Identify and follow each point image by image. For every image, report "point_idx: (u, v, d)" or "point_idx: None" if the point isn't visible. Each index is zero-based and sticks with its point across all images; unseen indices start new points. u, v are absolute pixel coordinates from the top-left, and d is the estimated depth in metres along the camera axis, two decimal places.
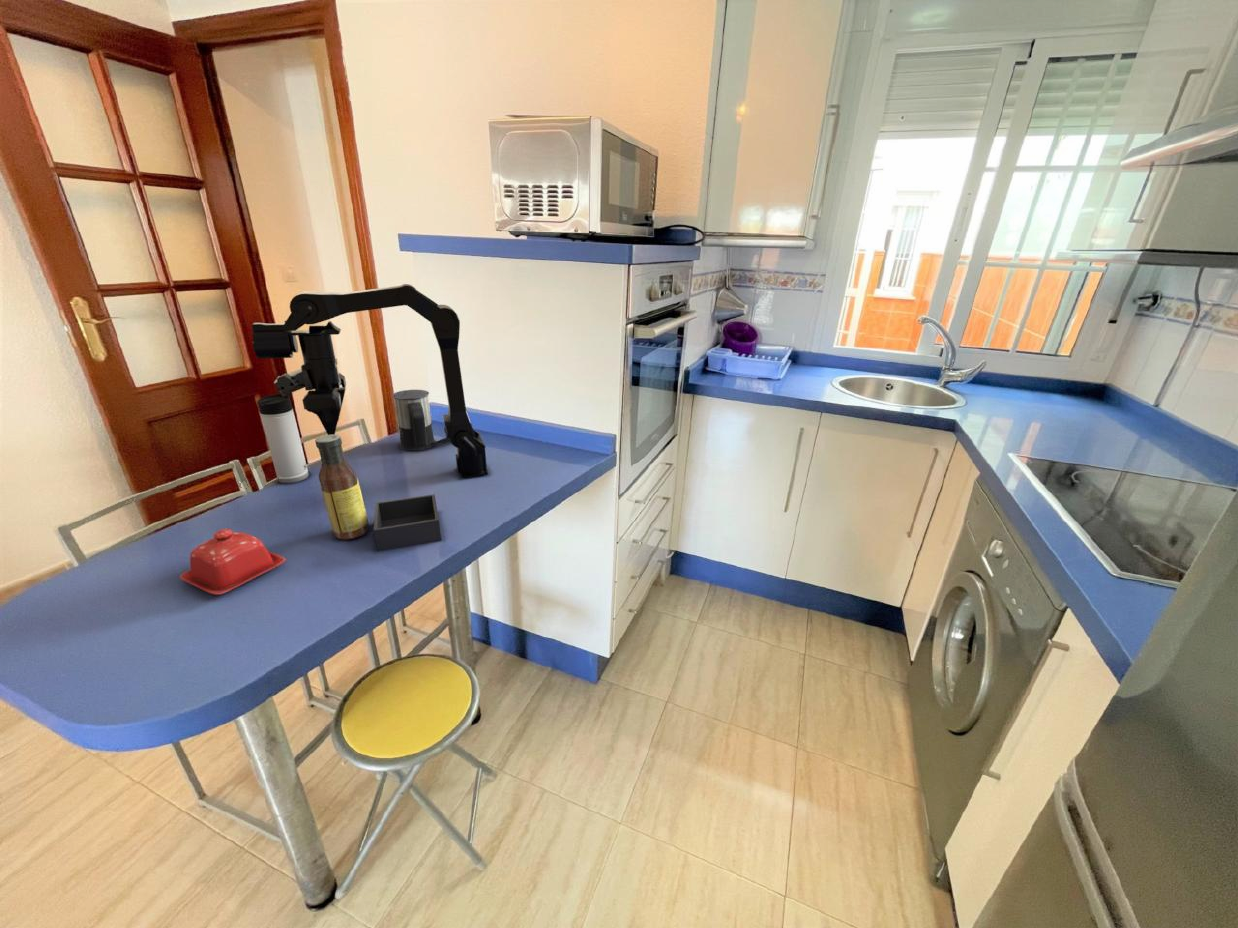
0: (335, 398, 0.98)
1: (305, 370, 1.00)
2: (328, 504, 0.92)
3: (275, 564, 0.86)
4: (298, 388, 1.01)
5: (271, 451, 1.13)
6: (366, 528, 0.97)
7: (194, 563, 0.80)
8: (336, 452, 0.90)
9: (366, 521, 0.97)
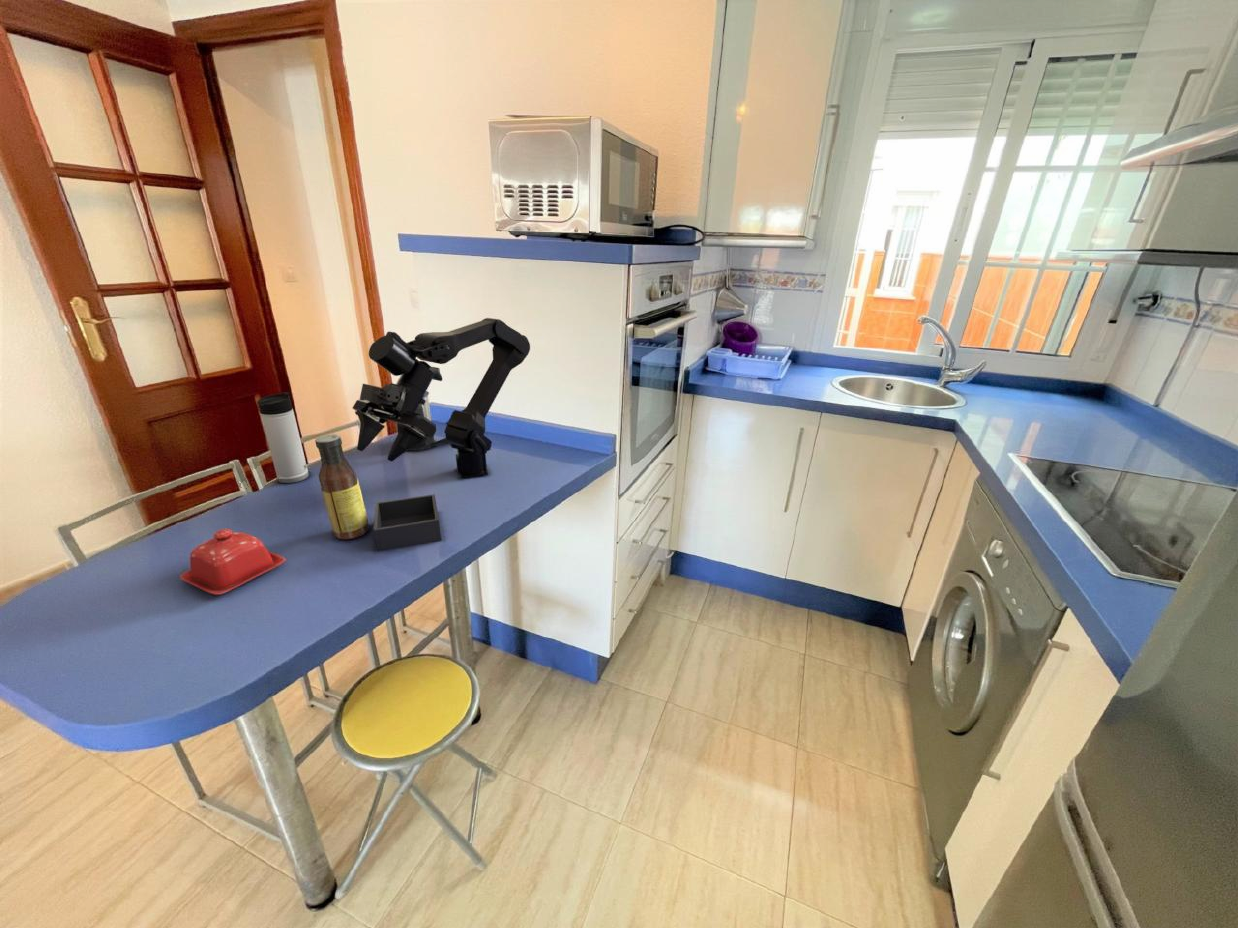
0: None
1: (405, 392, 0.99)
2: (328, 504, 0.92)
3: (275, 564, 0.86)
4: (389, 403, 0.97)
5: (271, 451, 1.13)
6: (366, 528, 0.97)
7: (194, 563, 0.80)
8: (336, 452, 0.90)
9: (366, 521, 0.97)
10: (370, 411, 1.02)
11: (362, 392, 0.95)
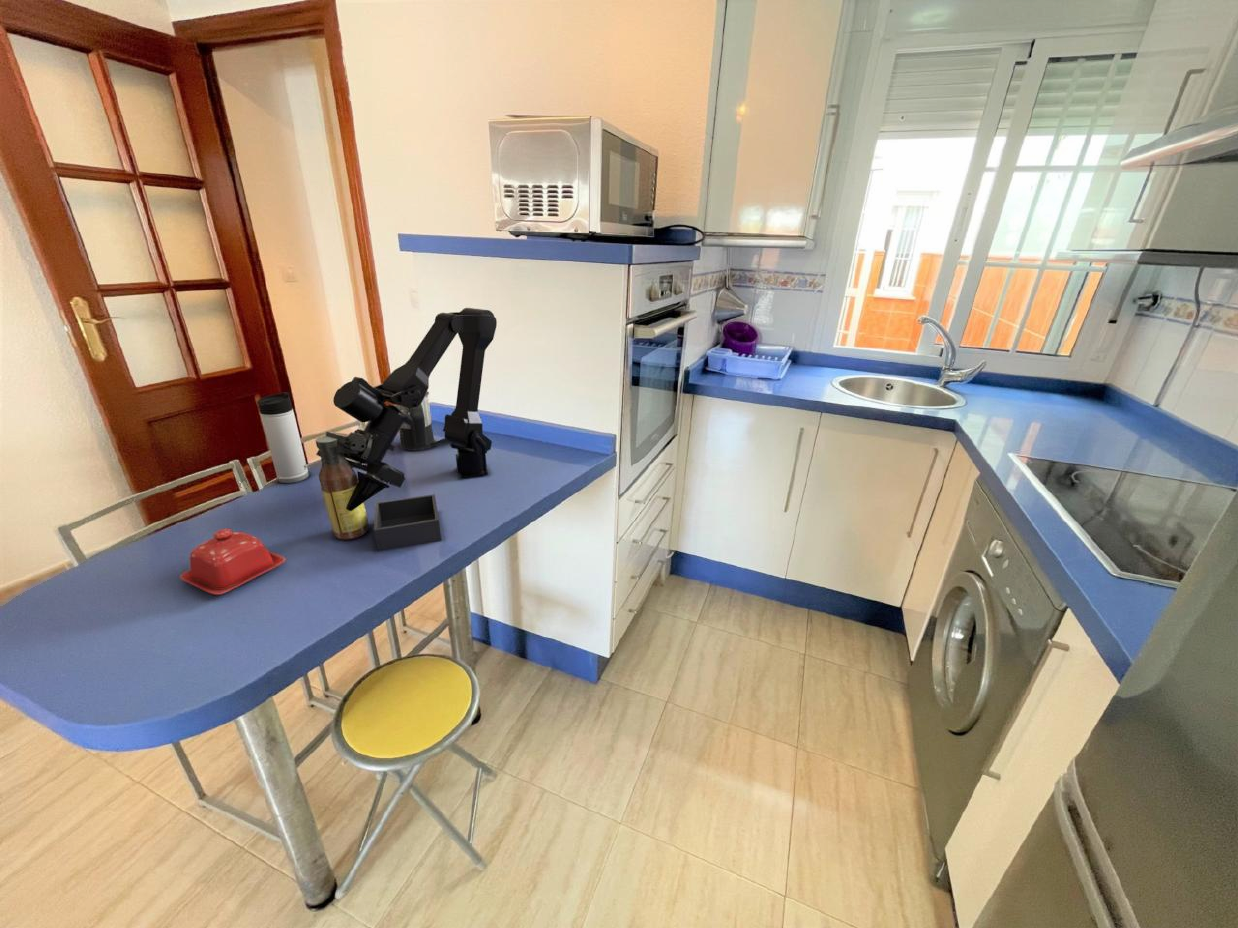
0: (404, 478, 0.95)
1: (372, 439, 0.95)
2: (328, 504, 0.92)
3: (275, 564, 0.86)
4: (354, 452, 0.92)
5: (271, 451, 1.13)
6: (366, 528, 0.97)
7: (194, 563, 0.80)
8: (336, 452, 0.90)
9: (366, 521, 0.97)
10: None
11: None
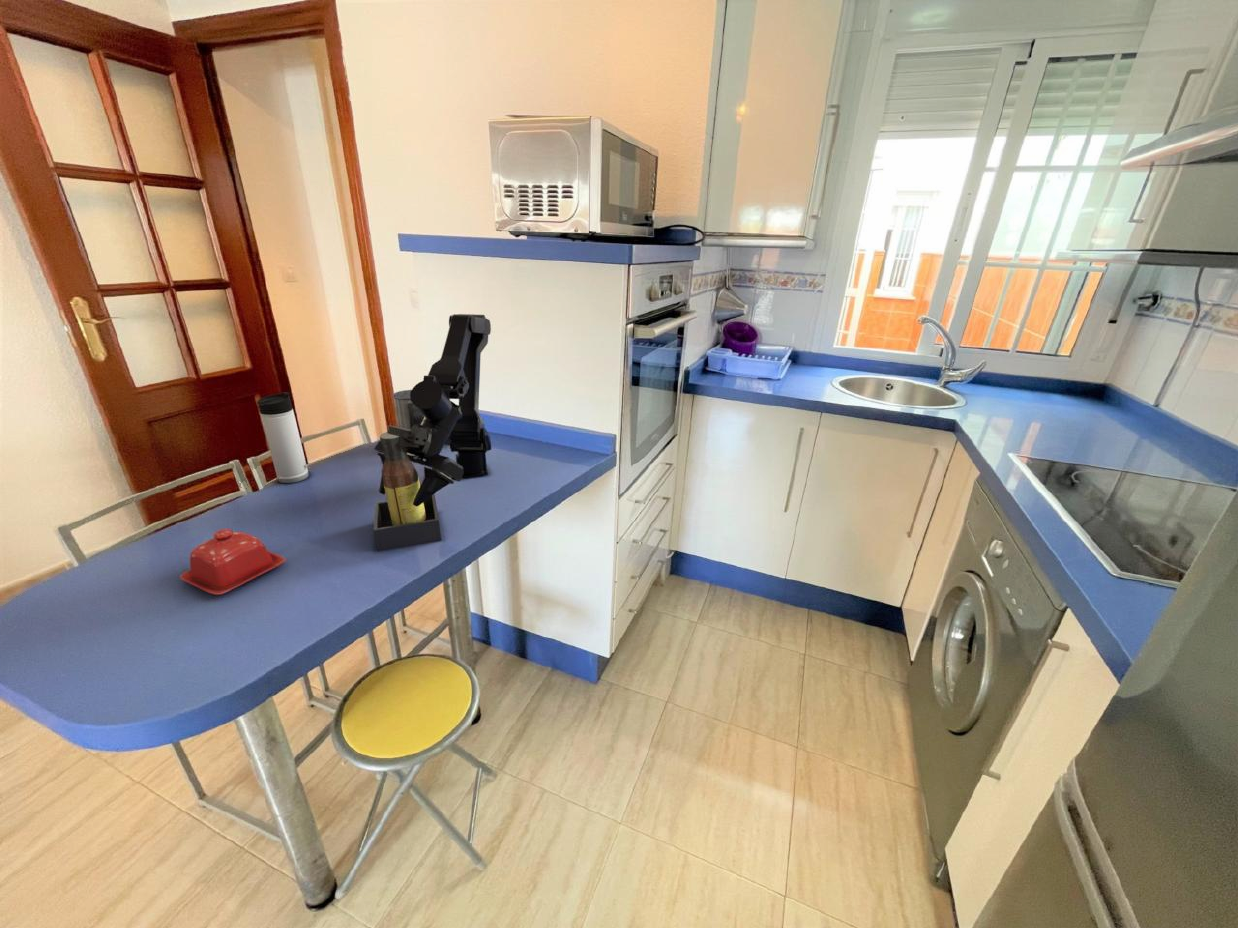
0: (463, 472, 0.96)
1: (431, 434, 0.95)
2: (390, 499, 0.93)
3: (275, 564, 0.86)
4: (416, 446, 0.93)
5: (271, 451, 1.13)
6: None
7: (194, 563, 0.80)
8: (400, 448, 0.91)
9: (425, 517, 0.98)
10: None
11: None
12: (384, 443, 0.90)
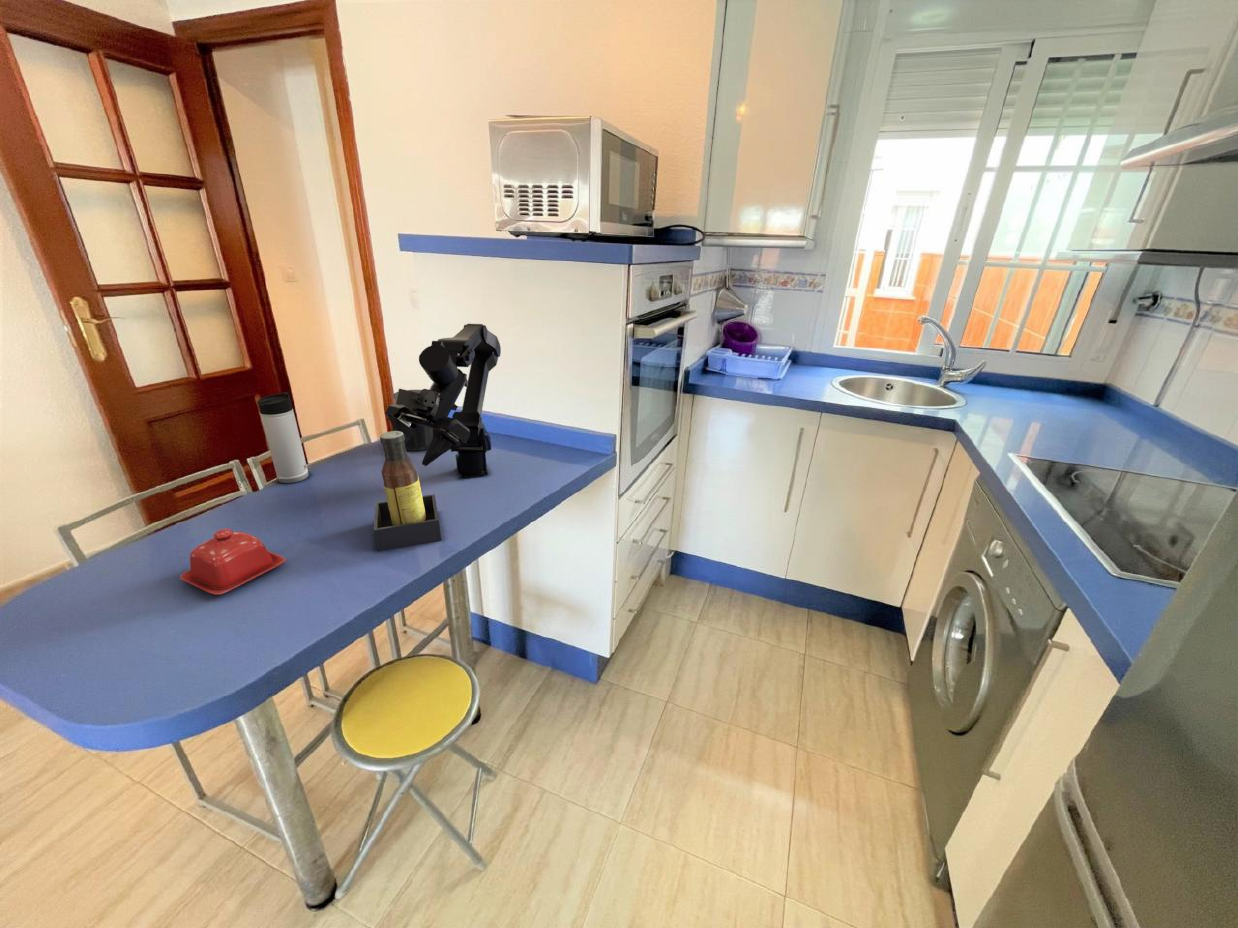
0: (469, 434, 1.01)
1: (439, 398, 1.00)
2: (390, 499, 0.93)
3: (275, 564, 0.86)
4: (424, 408, 0.98)
5: (271, 451, 1.13)
6: None
7: (194, 563, 0.80)
8: (400, 448, 0.91)
9: (425, 517, 0.98)
10: (402, 416, 1.03)
11: (398, 397, 0.96)
12: (384, 443, 0.90)
